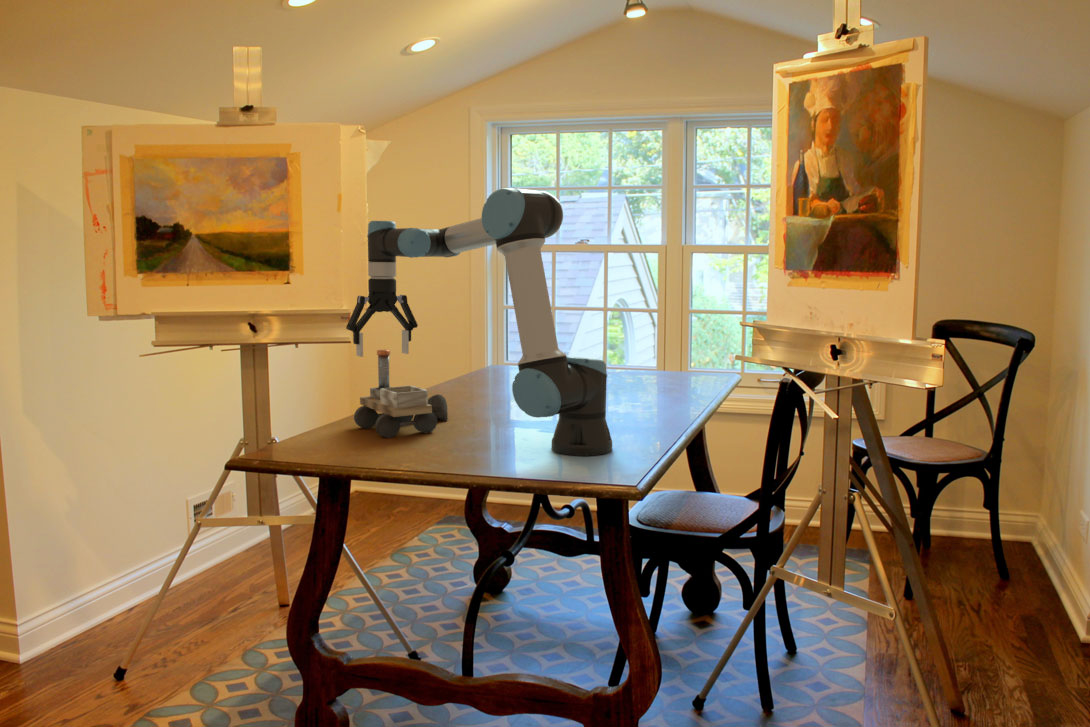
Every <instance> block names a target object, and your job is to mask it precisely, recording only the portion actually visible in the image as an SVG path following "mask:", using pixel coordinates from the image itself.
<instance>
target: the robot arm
mask: <svg viewBox="0 0 1090 727" xmlns="http://www.w3.org/2000/svg"><path fill="white" fill-rule="evenodd" d="M563 220H564V211H563V207H562V205H561V202H560V201H559V200H558V198H556V196H554V195H553V194H551V193H549V192H547V191H544V190H533V189H522V188H517V187H509V188H507V187H504V188H503V187H502V188H499V189H497V190H495V191H493V192H492V193H491V194H490V195H489V196H488V198H486V202H485V203H484V204H483V207H482V211H481V217H480V218H477V219H473V220H469V221H466V222H465V221H464V222H462V223H458V224H454V225H452V226H451V225H450V226H447V227H444V228H436V229H435V228H433V229H432V228H418V227H406V228H405V227H404V228H397V226H396V222H395V221H393V220H392V221H391V220H371V221H369V222H368V226H367V236H366V238H367V257H368V258H367V259H368V260H367V263H368V264H367V266H368V269H367V272H368V274H367V275H368V277H369V278H368V282H367V283H368V285H367V286H368V290H367V291H368V295H367V296H364V295H357V298H356V304H355V307H354V308H353V311H352V313H351V316H350V318H349V320H348V321H347V324H346V326H345V327H346V330H347V331H350V332H352V340H353V344H354V345H355V347H356V357H358V358H359V357H360V358H362V357H364V332H361V331H362V329H363V328H364V326H365V325H366V324H367V323H368V321H370V319H371V317H372V316H373V315H374V314H376V313H383V312H386V313H388V312H390V313H391V314H392V315H393V316H394V317H395V318H396V320H397V321H398V322H399V323H400V325H401V326H402V328H403V329H402V330H401V353H402V354H405V355H408V354H409V349H410V348H409V342H411V341H412V331H413V330H414V329H415V328H418V326H419V325H418V322H417V321H416V318H415V316H414V314H413V312H412V310H411V307H410V305H409V303H408V297H407V295H406V294H399V295H397V280H396V278H395V277H397V257H401V258H402V257H405V258H411V259H412V258H423V257H424V258H426V257H427V258H430V257H432V258H433V257H435V258H437V257H438V258H439V257H440V258H452V257H457V256H459V255H460V254H461V253H463V252H468V251H472V250H476V249H477V250H478V249H480V248H481V249H482V248H485V247H489V246H496V251H498V252H499V253H501V254H502V255H503V257H504V261H505V266H506V271H507V276H508V282H509V286H510V287H509V288H510V294H511V298H512V303H513V304H512V305H513V309H514V315H515V320H516V325H517V330H518V337H519V342H520V343H519V344H520V347H521V353H522V356H521V357H520V359H519V361H518V363H517V367H518V373H517V374H516V375H515V377H514V378H513V379H514V380H513V381H512V385H511V386H512V387H511V390H512V395H513V399H514V401H515V403H516V405H517V406H518V408H519V410H521V411H522V412H524V413H525V414H526V415H528V416H530V417H532V418H549V417H551V418H552V417H554V416H556V415H558V420H557V423H556V426H555V430H554V432H553V436H552V438H551V450H552V451H553V452H556V453H558V454H563V455H569V456H579V457H580V456H583V457H585V456H586V457H589V456H599V455H604V454H608V453H611V452H612V450H613V440H612V437H611V433H610V429H609V426H608V423H607V418H606V417H607V416H606V415H607V378H608V374H607V363H606V362H605V361H604V360H602V359H599V358H598V359H597V358H596V359H595V358H588V357H576V356H567V354H566V353H565V352H563V351H561V350H560V348H559V345H558V344H559V343H558V339H557V334H556V328H555V323H554V317H553V311H552V306H551V301H550V296H549V289H548V283H547V279H546V278H547V277H546V274H545V268H544V267H545V266H544V262H543V258H542V247H544V244H545V243H546V239H547V238H548V239H549V237H550V238H551V237H552V236H554V235H555V234H556V233H557V232H558V231H559V229H560V227H561V226H562V224H563ZM367 302H368V304H369V305H368V307H367V308H366V309H365V310H366V311H365V312H364V313H363V315H362V316H361V314H362V312H363V309H364V306H365V305H366V304H367ZM397 302H398V303H399V305H400V306H401V309H402V312H403V313H404V315H403V314H402V313H401V312H400V311H399V308H398V307H397V306H396V304H397ZM405 317H406V318H405Z"/></svg>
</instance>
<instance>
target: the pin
mask: <svg viewBox="0 0 1090 727" xmlns="http://www.w3.org/2000/svg"><path fill="white" fill-rule="evenodd" d="M376 355H377V364H378V365H377V368H378V375H377V376H378V380H377V381H378V382H377V383H378V387H379V390H380V389H382V388H389V387H391V386H390V355H391V350H390V349H377V350H376Z"/></svg>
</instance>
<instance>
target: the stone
mask: <svg viewBox="0 0 1090 727" xmlns="http://www.w3.org/2000/svg"><path fill="white" fill-rule="evenodd" d="M428 404H429V405H432V412H433V413H434V414H435V415H436V417H437V421H438V420H441V421H443V422H447V421H449V420H448V419H449V416H448V415H449V414H448V401H446V398H445V397H444V396H443V395H442V394H434V395H432V396H429V397H428Z"/></svg>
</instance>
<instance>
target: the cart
mask: <svg viewBox="0 0 1090 727" xmlns="http://www.w3.org/2000/svg"><path fill="white" fill-rule="evenodd" d="M369 389H370V390H369V394H370V395H369V396H360V397H359V405H361V406H360V407H357V408H356V410H355V412H354V414H353V420H354V422H355V424H356V425H357V426H358V427H360V428H363V429H371V428H373V427H375V431H376V433H377V434H378V435H379V436H381V437H383V438H386V439H391V438H393V437H395V436H396V435H397V434H398V433H399V431H400V429H401V427H407V426H409V427H410V426H413V427H414V429H415V430H416V431H418V432H421V433H423V434H428V433H429V434H430V433H432V432H433V431H434V430H435V429H436V427H437V425H438V420H437V417H436V415H435V414H434V413H433V412H432V405H429V404H428V399H429V394H428V391H429V390H427V389H425V388H421V387H417V386H414V385H403V386H402V385H401V386H400V385H399V386H390V387H389V388H382V389H380V390H379V386H377V387H370V388H369ZM378 412H380V413H378Z"/></svg>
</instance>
